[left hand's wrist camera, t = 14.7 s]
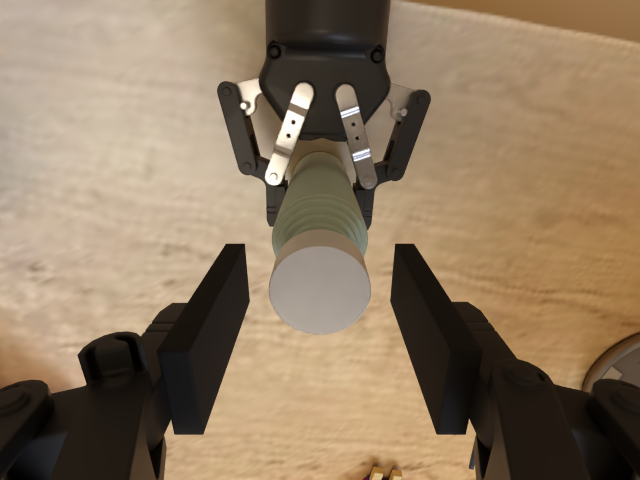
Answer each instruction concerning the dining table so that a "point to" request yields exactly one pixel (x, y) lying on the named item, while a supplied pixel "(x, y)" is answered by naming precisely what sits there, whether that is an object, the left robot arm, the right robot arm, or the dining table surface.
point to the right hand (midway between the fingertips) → (319, 231)
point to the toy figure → (377, 474)
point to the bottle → (319, 203)
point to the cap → (319, 282)
